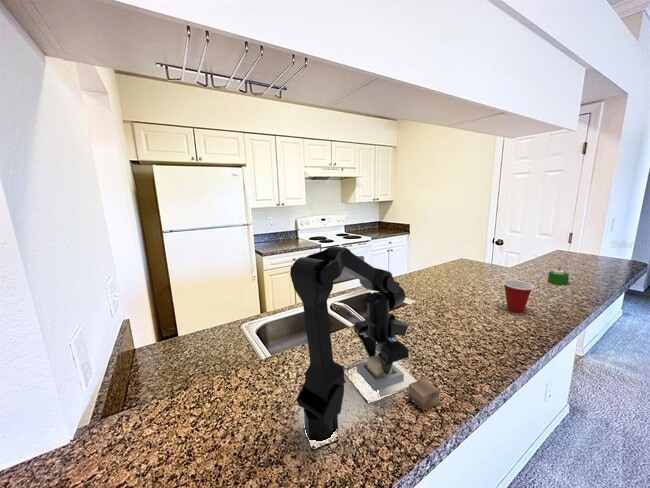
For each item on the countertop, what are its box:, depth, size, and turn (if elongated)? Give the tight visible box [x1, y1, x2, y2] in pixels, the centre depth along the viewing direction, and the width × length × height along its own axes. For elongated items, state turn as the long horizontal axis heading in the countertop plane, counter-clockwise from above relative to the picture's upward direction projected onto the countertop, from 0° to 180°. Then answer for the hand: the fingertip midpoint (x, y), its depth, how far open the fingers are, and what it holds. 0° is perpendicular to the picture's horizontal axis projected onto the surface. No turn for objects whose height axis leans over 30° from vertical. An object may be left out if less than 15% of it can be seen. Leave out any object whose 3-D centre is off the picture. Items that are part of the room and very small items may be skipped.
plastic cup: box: [502, 279, 535, 313], centre depth 116 cm, size 11×11×12 cm
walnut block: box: [408, 378, 440, 412], centre depth 68 cm, size 5×5×4 cm
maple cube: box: [366, 354, 392, 380], centre depth 77 cm, size 5×5×5 cm
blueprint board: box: [356, 361, 418, 397], centre depth 77 cm, size 16×14×3 cm
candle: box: [547, 264, 570, 286], centre depth 146 cm, size 8×8×10 cm
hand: (379, 366), depth 77 cm, fingers open, 7 cm apart
